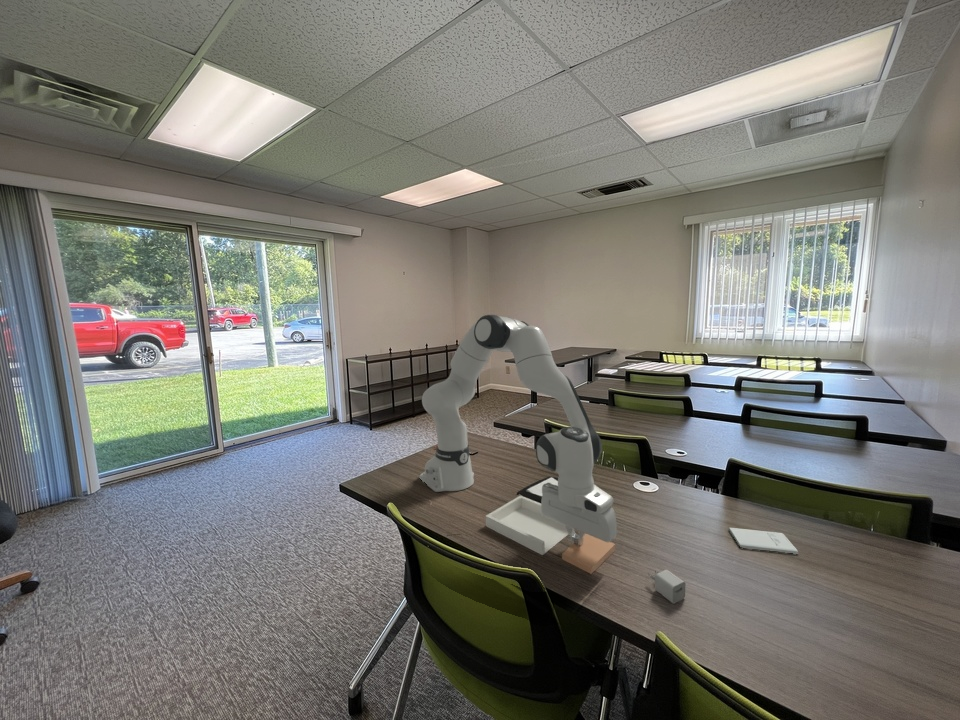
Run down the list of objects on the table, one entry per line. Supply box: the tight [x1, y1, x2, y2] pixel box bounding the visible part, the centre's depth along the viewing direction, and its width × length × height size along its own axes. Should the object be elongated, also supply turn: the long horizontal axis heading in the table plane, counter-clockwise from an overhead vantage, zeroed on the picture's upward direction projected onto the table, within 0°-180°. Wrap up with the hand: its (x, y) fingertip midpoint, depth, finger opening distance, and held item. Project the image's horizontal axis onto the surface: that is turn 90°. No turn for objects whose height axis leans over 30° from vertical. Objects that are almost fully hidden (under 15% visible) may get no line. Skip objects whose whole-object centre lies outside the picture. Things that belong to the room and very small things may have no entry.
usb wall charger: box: [648, 569, 687, 604], centre depth 82 cm, size 4×7×4 cm, turn 24°
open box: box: [485, 494, 569, 556], centre depth 108 cm, size 20×16×4 cm
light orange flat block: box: [561, 534, 616, 575], centre depth 95 cm, size 8×12×3 cm, turn 134°
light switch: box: [516, 476, 558, 503], centre depth 130 cm, size 20×3×14 cm
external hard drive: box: [728, 527, 799, 555], centre depth 98 cm, size 2×8×12 cm
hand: (576, 542), depth 97 cm, fingers closed
